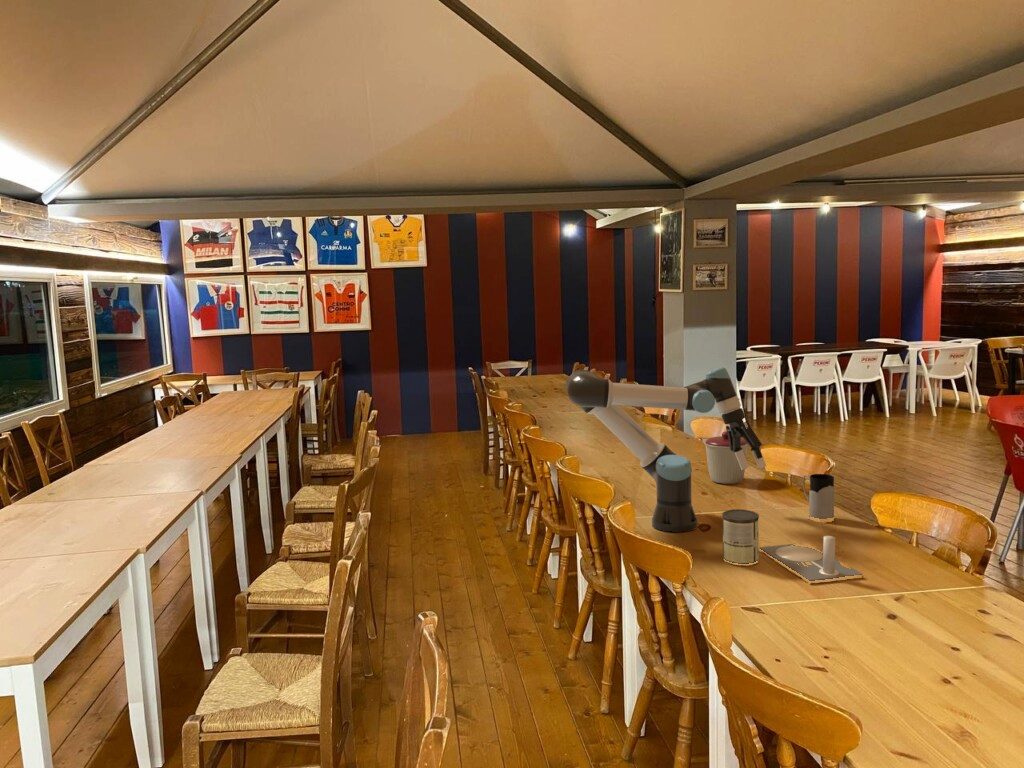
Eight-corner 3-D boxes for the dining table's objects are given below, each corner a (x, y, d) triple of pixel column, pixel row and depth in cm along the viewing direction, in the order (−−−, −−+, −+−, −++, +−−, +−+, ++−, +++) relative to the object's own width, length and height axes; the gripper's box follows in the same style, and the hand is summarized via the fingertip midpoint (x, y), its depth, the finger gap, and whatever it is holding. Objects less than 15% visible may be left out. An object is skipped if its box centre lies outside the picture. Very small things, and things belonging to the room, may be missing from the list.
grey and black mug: (819, 524, 249) (819, 480, 247) (792, 512, 262) (792, 471, 260) (841, 521, 251) (841, 478, 249) (813, 509, 264) (813, 469, 263)
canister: (704, 486, 302) (704, 435, 299) (703, 475, 319) (703, 427, 317) (750, 487, 297) (750, 435, 295) (747, 476, 315) (747, 427, 312)
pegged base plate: (809, 584, 199) (809, 544, 198) (759, 551, 226) (759, 515, 224) (863, 578, 202) (863, 538, 201) (807, 546, 228) (807, 510, 227)
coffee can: (717, 555, 224) (717, 510, 222) (751, 553, 224) (751, 508, 222) (729, 567, 214) (728, 520, 212) (764, 565, 214) (764, 518, 212)
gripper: (756, 403, 247) (780, 463, 245) (726, 410, 272) (747, 465, 270) (736, 410, 246) (760, 470, 244) (708, 417, 271) (729, 472, 269)
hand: (753, 468), depth 257 cm, fingers open, 13 cm apart
